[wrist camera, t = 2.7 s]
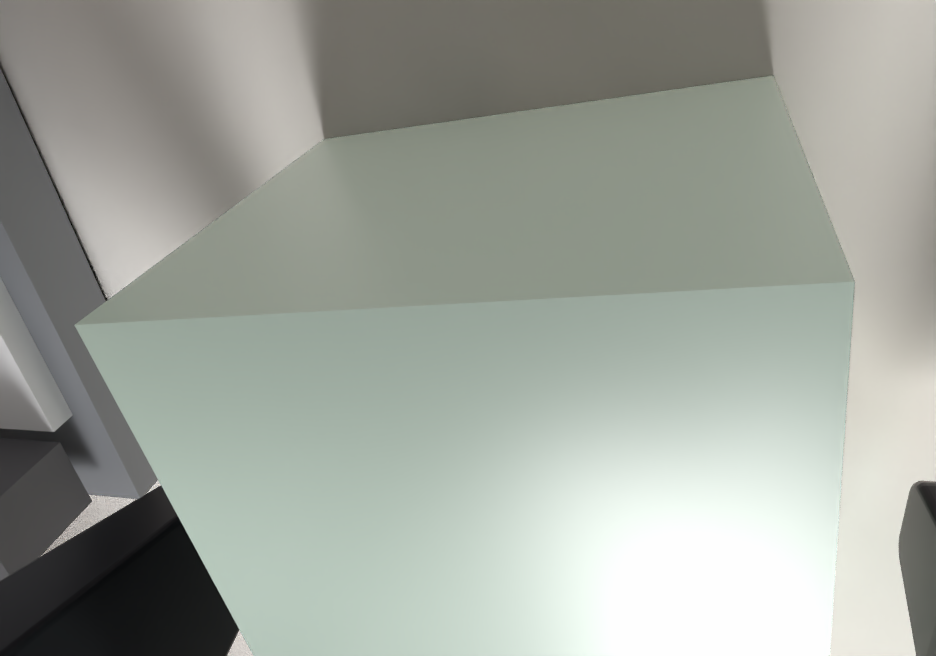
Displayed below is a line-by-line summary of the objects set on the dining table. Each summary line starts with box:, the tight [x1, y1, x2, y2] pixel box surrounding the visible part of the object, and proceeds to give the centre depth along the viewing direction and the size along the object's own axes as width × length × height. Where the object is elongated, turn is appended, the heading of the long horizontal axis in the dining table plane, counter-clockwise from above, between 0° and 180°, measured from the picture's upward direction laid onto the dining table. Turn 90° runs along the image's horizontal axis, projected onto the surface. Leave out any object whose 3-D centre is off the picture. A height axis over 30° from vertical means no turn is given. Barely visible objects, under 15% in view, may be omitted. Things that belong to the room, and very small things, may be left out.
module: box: [75, 75, 855, 656], centre depth 8 cm, size 8×5×4 cm, turn 12°
